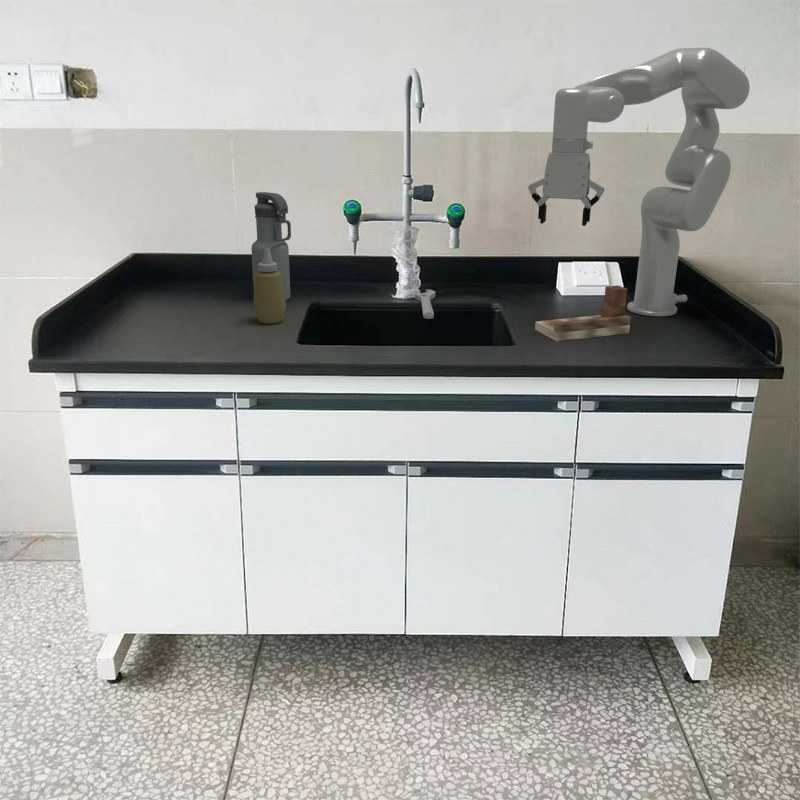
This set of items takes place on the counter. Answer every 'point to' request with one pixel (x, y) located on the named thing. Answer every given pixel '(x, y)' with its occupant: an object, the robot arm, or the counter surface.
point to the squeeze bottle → (268, 291)
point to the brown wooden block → (614, 301)
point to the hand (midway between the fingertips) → (563, 223)
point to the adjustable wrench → (426, 303)
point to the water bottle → (272, 235)
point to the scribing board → (578, 334)
